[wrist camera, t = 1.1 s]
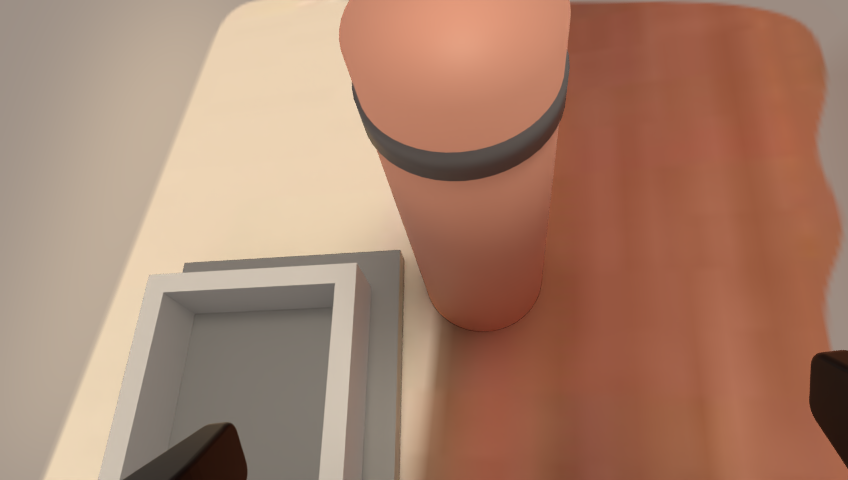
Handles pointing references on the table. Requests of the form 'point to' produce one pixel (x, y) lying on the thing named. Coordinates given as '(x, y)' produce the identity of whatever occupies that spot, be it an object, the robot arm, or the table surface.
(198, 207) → the table surface
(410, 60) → the banded pink rod
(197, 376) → the jig
